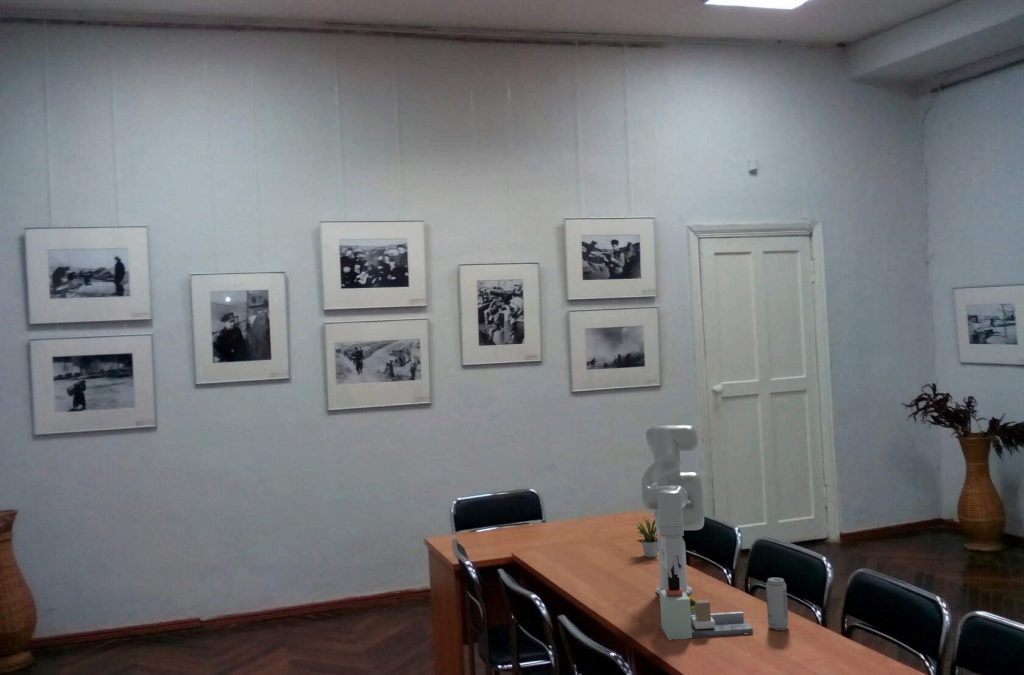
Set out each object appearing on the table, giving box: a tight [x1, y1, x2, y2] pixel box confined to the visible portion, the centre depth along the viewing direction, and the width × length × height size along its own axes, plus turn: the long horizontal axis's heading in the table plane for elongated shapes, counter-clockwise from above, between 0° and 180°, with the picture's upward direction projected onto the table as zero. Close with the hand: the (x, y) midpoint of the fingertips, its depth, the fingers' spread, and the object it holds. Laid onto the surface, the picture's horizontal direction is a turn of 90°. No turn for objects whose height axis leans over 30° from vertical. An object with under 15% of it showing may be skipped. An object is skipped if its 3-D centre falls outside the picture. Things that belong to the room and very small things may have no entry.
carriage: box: [692, 599, 715, 629], centre depth 269 cm, size 5×6×8 cm
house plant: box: [636, 517, 659, 558], centre depth 363 cm, size 14×14×16 cm
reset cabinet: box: [659, 590, 692, 641], centre depth 268 cm, size 11×7×12 cm, turn 2°
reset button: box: [666, 588, 683, 597], centre depth 268 cm, size 5×5×6 cm
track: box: [691, 611, 754, 638], centre depth 269 cm, size 9×19×4 cm, turn 92°
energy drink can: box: [765, 576, 789, 631], centre depth 268 cm, size 6×6×15 cm
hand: (674, 589), depth 268 cm, fingers closed
